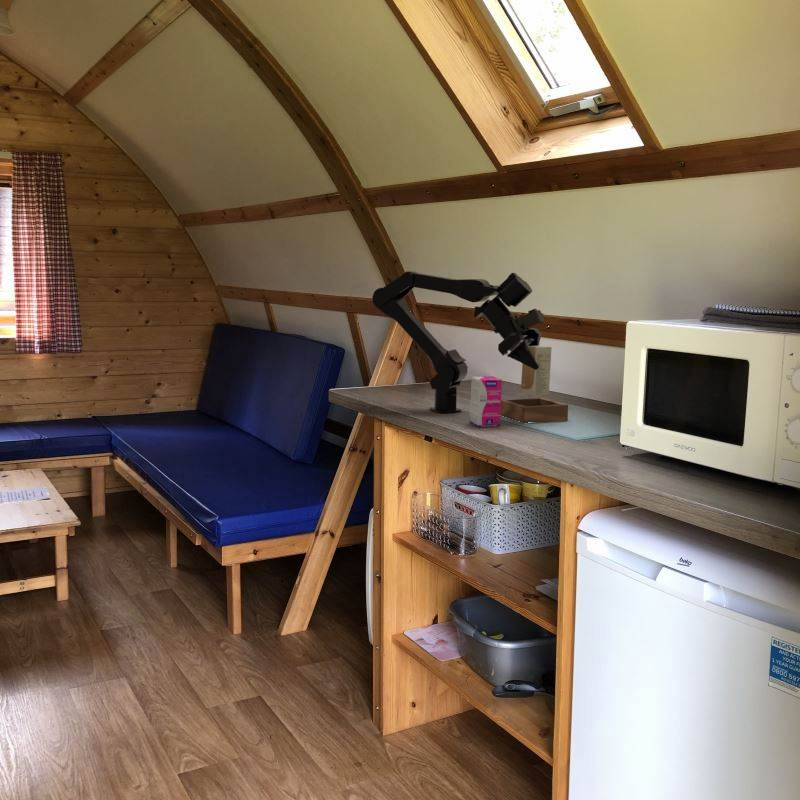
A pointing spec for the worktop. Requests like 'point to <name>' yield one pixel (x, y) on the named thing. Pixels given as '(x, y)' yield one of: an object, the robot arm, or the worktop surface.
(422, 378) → the worktop surface
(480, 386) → the supplement box
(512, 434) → the worktop surface
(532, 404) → the shallow wooden tray
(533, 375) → the skincare box
